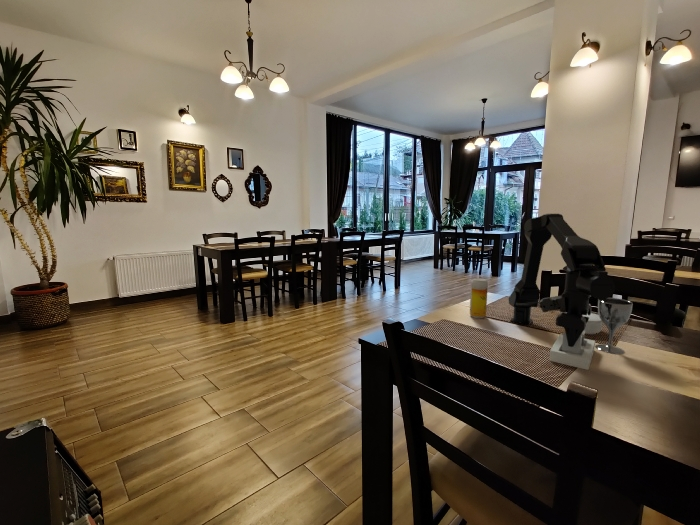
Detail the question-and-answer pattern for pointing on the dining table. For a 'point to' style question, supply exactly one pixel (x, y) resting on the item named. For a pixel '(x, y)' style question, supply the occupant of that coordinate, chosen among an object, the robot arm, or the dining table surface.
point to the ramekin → (593, 324)
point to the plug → (575, 348)
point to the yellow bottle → (478, 297)
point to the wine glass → (613, 319)
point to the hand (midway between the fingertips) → (571, 344)
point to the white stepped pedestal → (573, 353)
